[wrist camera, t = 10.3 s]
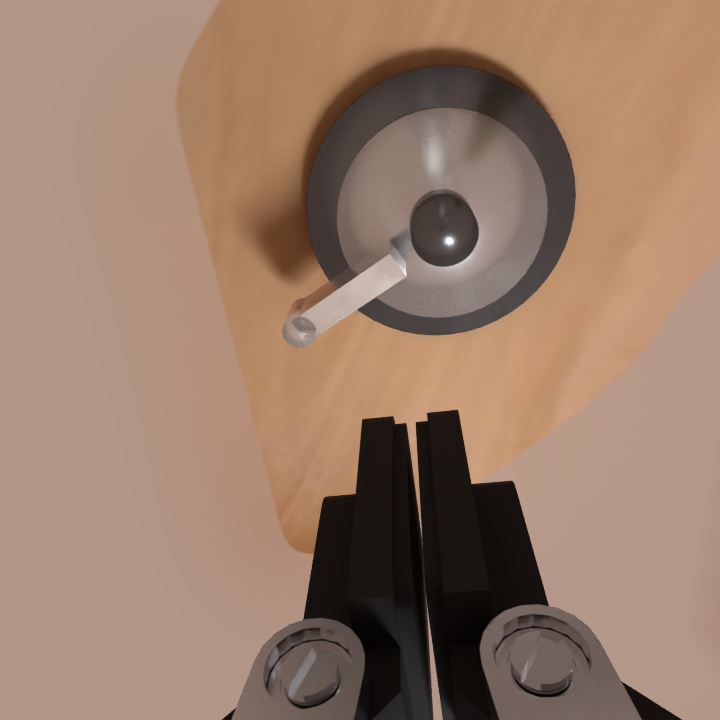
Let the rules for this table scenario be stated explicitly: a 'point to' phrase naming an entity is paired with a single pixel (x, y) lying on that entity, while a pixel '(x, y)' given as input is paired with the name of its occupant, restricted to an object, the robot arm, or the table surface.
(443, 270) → the dial
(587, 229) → the table surface
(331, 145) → the stand
